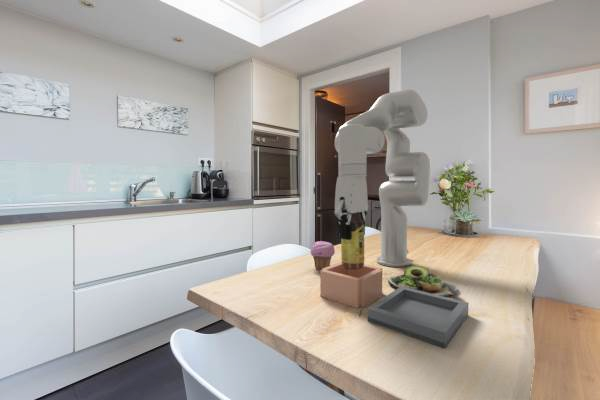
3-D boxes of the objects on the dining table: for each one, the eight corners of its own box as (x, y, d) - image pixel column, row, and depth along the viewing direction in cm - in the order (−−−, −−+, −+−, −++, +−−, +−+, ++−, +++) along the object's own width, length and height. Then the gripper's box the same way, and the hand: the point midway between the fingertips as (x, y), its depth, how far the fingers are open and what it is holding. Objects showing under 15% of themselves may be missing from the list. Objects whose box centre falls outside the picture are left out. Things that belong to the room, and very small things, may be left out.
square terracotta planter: (344, 282, 89) (344, 260, 88) (384, 293, 80) (385, 268, 79) (318, 295, 79) (318, 270, 78) (360, 309, 70) (360, 281, 70)
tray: (400, 297, 77) (401, 286, 77) (468, 315, 66) (468, 302, 66) (367, 321, 64) (367, 308, 64) (445, 348, 53) (445, 333, 53)
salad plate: (478, 296, 79) (479, 279, 78) (432, 308, 71) (432, 289, 71) (422, 275, 96) (422, 262, 96) (380, 283, 89) (380, 268, 89)
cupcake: (311, 264, 109) (311, 238, 108) (334, 265, 108) (334, 239, 107) (309, 271, 100) (309, 243, 99) (334, 272, 99) (334, 244, 98)
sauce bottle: (364, 271, 76) (364, 196, 74) (340, 270, 77) (339, 196, 75) (364, 263, 82) (363, 194, 80) (342, 263, 83) (341, 195, 82)
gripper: (357, 171, 86) (357, 230, 88) (321, 171, 74) (322, 240, 75) (380, 171, 81) (380, 233, 83) (346, 170, 69) (347, 244, 70)
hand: (352, 236), depth 79 cm, fingers closed on sauce bottle, 6 cm apart
